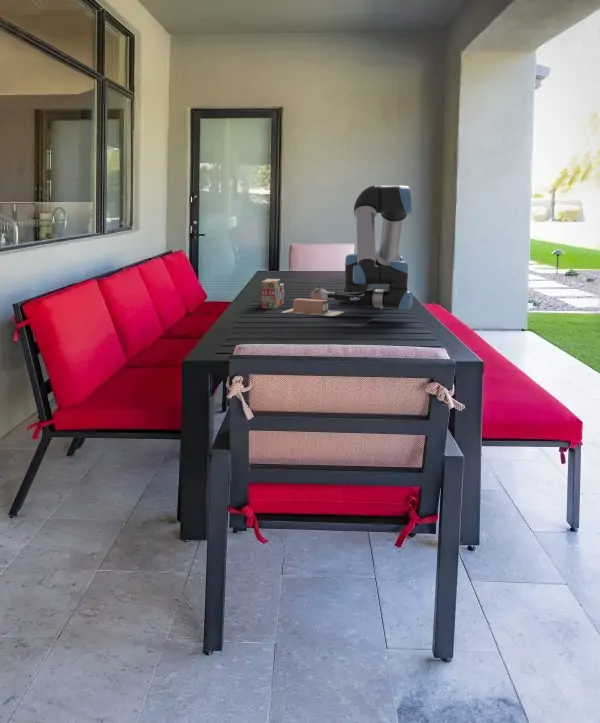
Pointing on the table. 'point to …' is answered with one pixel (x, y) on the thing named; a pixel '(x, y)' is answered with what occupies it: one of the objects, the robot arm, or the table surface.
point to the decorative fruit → (317, 294)
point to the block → (310, 305)
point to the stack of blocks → (272, 293)
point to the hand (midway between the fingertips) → (321, 294)
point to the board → (329, 313)
